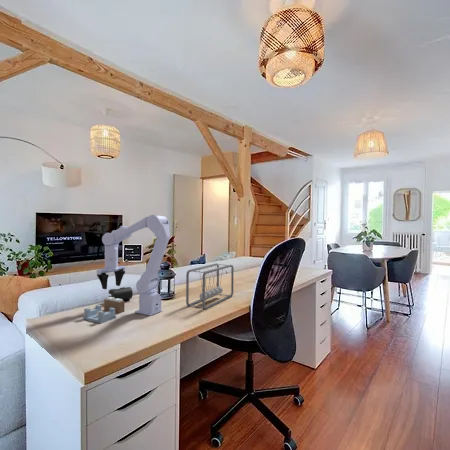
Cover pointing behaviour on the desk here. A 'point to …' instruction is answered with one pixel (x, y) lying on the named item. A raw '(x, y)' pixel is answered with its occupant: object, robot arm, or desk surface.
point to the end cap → (121, 293)
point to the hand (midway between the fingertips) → (111, 287)
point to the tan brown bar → (114, 304)
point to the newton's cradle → (211, 292)
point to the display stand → (99, 314)
